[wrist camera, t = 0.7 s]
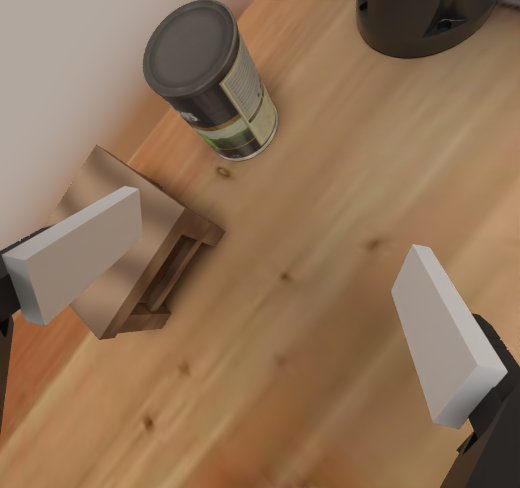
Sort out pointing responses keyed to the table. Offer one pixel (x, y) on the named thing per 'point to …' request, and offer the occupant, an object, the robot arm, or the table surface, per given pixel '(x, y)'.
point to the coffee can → (211, 79)
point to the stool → (133, 248)
